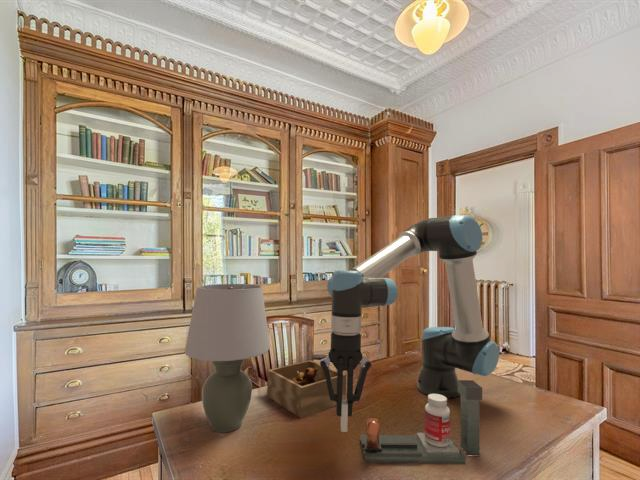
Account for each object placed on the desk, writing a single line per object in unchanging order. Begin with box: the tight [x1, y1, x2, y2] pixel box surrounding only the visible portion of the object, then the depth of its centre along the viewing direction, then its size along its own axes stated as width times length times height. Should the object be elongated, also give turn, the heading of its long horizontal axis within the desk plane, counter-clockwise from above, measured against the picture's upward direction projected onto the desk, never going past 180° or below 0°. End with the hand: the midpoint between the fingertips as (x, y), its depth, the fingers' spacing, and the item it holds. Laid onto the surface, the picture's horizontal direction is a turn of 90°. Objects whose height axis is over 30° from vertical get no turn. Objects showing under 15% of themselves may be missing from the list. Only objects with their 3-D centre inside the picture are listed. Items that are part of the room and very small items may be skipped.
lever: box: [364, 417, 382, 452], centre depth 82 cm, size 4×3×7 cm
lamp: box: [184, 283, 271, 433], centre depth 98 cm, size 24×24×40 cm
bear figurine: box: [292, 367, 318, 386], centre depth 115 cm, size 14×15×12 cm
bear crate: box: [266, 359, 347, 419], centre depth 115 cm, size 20×19×9 cm
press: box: [360, 379, 483, 464], centre depth 85 cm, size 30×10×17 cm, turn 91°
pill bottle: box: [424, 394, 451, 447], centre depth 86 cm, size 6×6×11 cm
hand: (343, 428), depth 82 cm, fingers closed
